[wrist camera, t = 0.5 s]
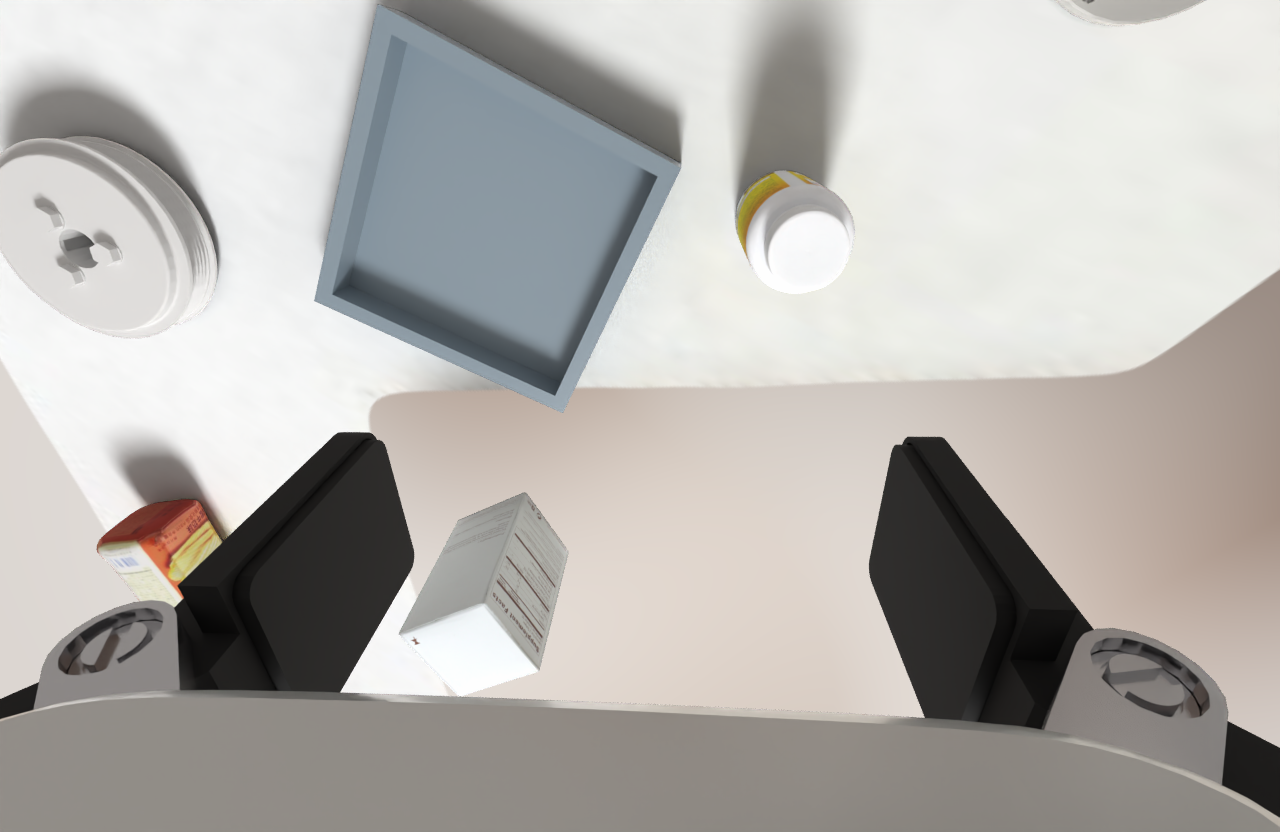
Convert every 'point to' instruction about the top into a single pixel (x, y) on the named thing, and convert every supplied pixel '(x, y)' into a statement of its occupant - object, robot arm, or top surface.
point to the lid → (104, 235)
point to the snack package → (159, 548)
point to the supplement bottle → (794, 231)
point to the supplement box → (489, 598)
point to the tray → (484, 213)
